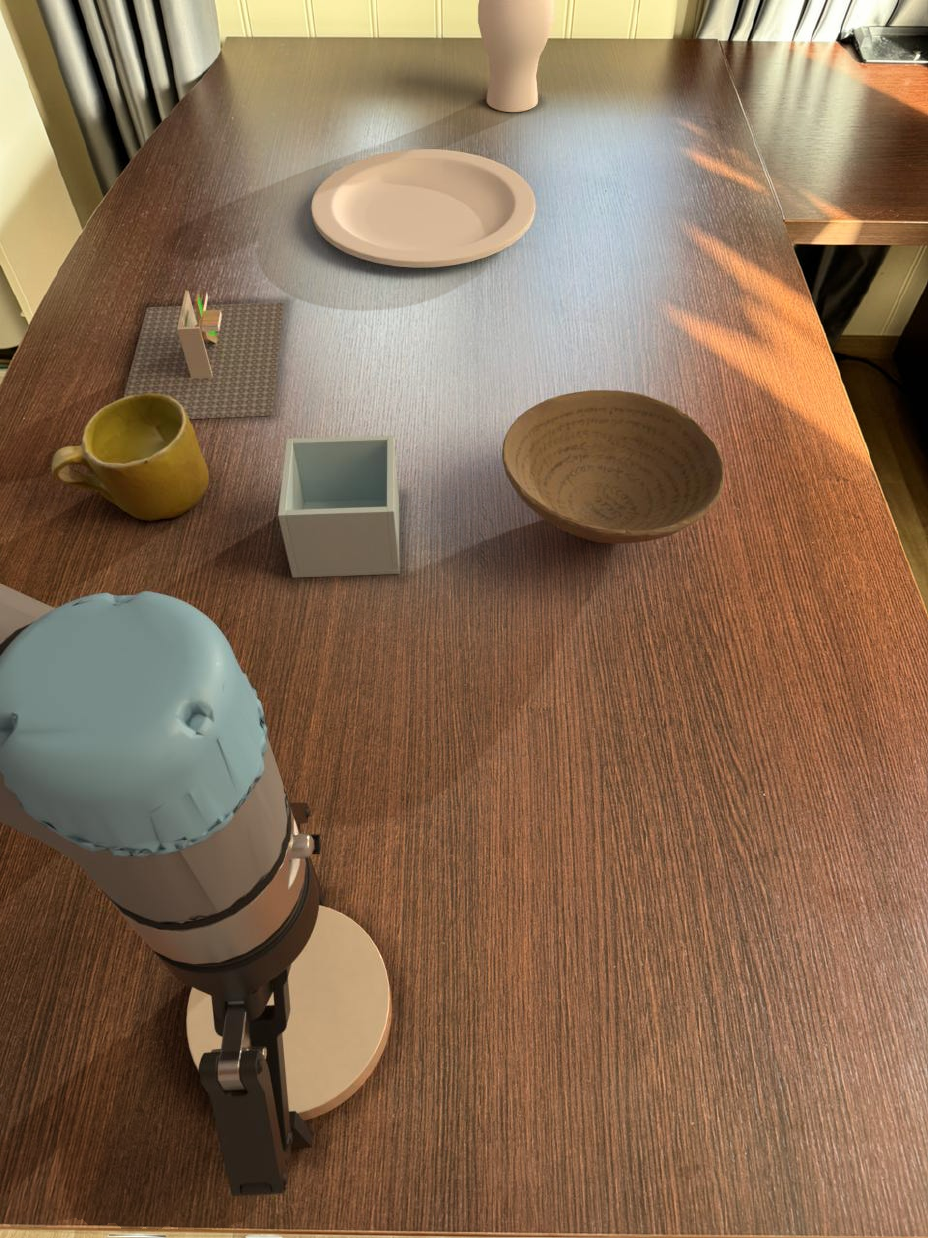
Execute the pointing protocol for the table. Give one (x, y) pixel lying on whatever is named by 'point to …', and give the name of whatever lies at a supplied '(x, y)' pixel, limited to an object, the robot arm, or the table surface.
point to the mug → (139, 458)
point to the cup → (514, 49)
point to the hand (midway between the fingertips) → (296, 1014)
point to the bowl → (613, 466)
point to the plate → (423, 208)
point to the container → (340, 506)
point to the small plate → (321, 1016)
